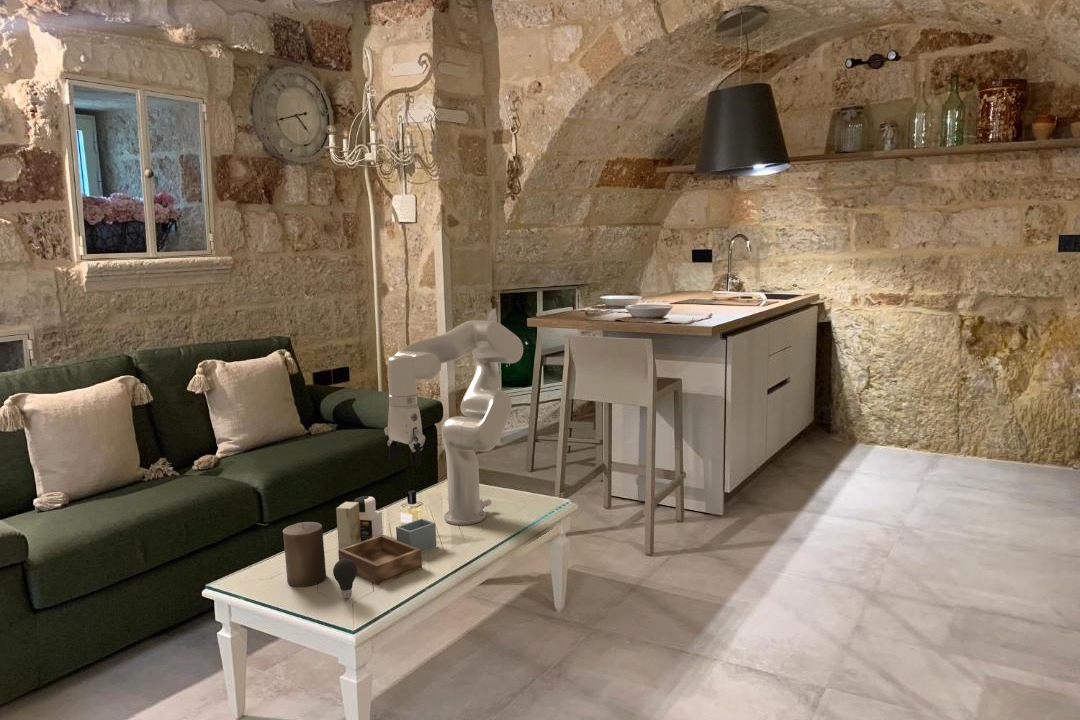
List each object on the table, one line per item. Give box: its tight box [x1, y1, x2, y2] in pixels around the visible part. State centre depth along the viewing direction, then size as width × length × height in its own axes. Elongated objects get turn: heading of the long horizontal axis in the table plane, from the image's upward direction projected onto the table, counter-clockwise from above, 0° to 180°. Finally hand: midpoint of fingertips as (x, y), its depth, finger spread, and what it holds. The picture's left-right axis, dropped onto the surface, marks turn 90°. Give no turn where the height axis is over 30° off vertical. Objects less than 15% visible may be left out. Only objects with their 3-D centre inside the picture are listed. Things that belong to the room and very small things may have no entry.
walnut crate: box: [337, 534, 423, 586], centre depth 218 cm, size 14×17×5 cm
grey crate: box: [395, 518, 437, 553], centre depth 230 cm, size 9×6×7 cm, turn 137°
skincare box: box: [335, 501, 361, 550], centre depth 233 cm, size 6×4×12 cm
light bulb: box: [332, 559, 357, 601], centre depth 199 cm, size 6×6×10 cm
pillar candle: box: [282, 521, 327, 587], centre depth 211 cm, size 10×10×15 cm
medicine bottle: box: [353, 495, 384, 542], centre depth 239 cm, size 7×7×12 cm
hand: (405, 462), depth 228 cm, fingers open, 9 cm apart
